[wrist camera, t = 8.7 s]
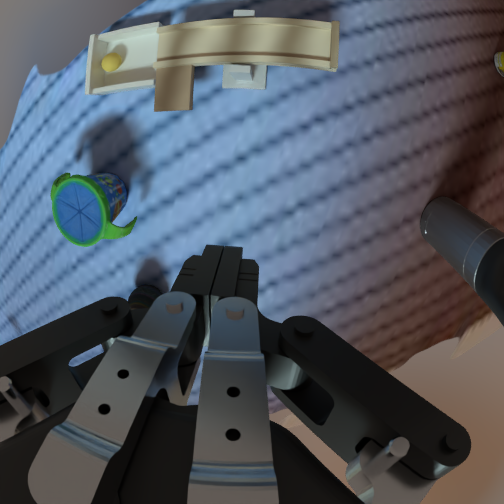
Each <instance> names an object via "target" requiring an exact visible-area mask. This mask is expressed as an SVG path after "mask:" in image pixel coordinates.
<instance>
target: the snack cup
mask: <svg viewBox="0 0 504 504" xmlns="http://www.w3.org/2000/svg"><path fill="white" fill-rule="evenodd" d="M126 199H127V192H126V189H125V184H124V182H123V181H122V180H120V179H119V177H118V176H116V175H114V174H110V173H99V174H92V175H87V176H81V175H72V176H71V177H70V173H65V174H63V175H61V176H59V177H58V178H57V179H56V180H55V181H54V182H53V185H52V189H51V200H52V211H53V216H54V220H55V222H56V225H57V227H58V229H59V230H60V232H61V233H62V234H63V236H64V237H65V238H66V239H68V240H69V241H70V242H72V243H73V244H75V245H78V246H83V247H87V246H91V245H94V244H95V243H97V242H98V241H99V240H101V239H118V238H122V237H124V236H127V235H128V234H130V233H131V231H132V229H133V227H134V225H135V222H136V220H137V216H136V217H135V218H134V220H133V221H131V222H130V223H129V224H127V225H126V226H125V227H119V226H116V225H114V224H112V222H113V221H114V220H115V218H116V217H117V216H118V215H119V214H120V212H121V211H122V210H123V208H124V207H125V205H126Z"/></svg>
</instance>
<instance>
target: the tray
mask: <svg viewBox="0 0 504 504" xmlns="http://www.w3.org/2000/svg"><path fill="white" fill-rule="evenodd" d="M163 26H164V25H163V24H161V23H160V22H155V23H149V24H143V25H138V26H133V27H128V28H124V29H119V30H115V31H111V32H107V33H104V34H100V35H96V34H93V35H91V36H90V42H89V50H88V59H87V70H86V84H85V95H105V94H111V93H118V92H124V91H131V90H139V89H148V88H155V83H156V69H155V68H153V62H157V51H158V41H159V34H158V33H156V31H157V28H158V27H163ZM109 53H117V54H119V55H120V56H121V59H122V62H121V65H120V67H119V68H118V69H116V70H115V71H112V72H108V71H105V70H104V69H103V68H102V65H101V63H102V59H103V58H104V57H105V56H106V55H107V54H109Z"/></svg>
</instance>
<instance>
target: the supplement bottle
mask: <svg viewBox="0 0 504 504" xmlns="http://www.w3.org/2000/svg"><path fill="white" fill-rule="evenodd" d="M494 62H495V66H496V68H497V70H498V72H499V73H500V74H501V75H502V76H503V77H504V52H497V53H496V54H495V56H494Z"/></svg>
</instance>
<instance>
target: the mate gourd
mask: <svg viewBox="0 0 504 504" xmlns="http://www.w3.org/2000/svg"><path fill="white" fill-rule="evenodd" d="M160 295H162V293H161V292H160V291H159V290H158V289H157V288H155V287H153V286H151V285H142V286H139V287H138V288H136V289H135V290H134V291H133V292H132V293H131V295H130V296H129V299H128V303H129V305H130V309H131V310H132V309H143V308H150V307H151V306H152V304H153V303H154V301H155V300H156V299H157V298H158V297H159V296H160Z"/></svg>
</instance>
